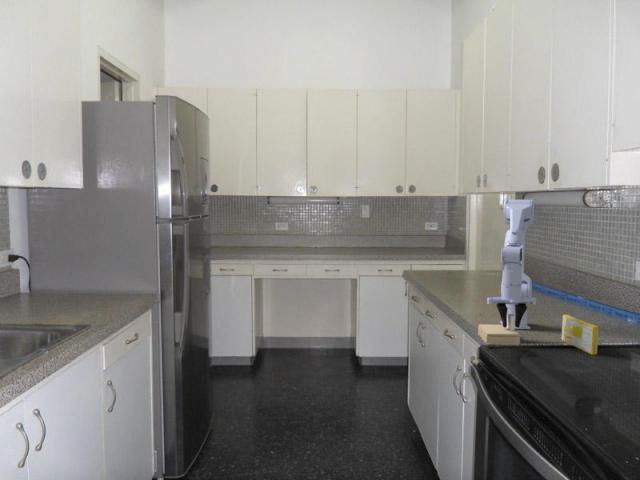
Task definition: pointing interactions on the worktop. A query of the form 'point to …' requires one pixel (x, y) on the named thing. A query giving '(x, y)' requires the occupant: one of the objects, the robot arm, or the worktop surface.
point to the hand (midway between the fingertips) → (510, 326)
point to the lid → (501, 328)
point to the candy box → (580, 334)
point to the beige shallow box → (498, 339)
